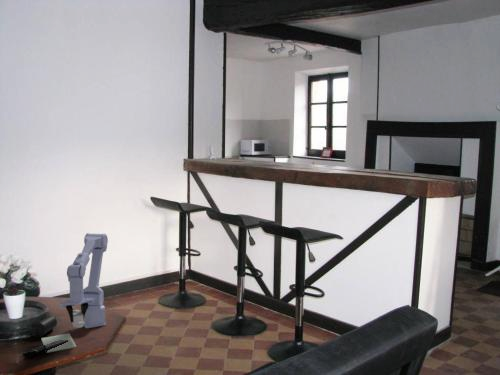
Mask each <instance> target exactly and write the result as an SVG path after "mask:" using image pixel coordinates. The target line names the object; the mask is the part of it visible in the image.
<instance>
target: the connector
mask: <svg viewBox="0 0 500 375" xmlns="http://www.w3.org/2000/svg"><path fill="white" fill-rule="evenodd" d="M70 322H71V321H70ZM84 322H85V321H84V320H83V314H82V312H81V309H73V322H71V324H72V326H73V328H75V329H81V328H83V327H85V326H84Z"/></svg>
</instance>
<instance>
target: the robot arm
mask: <svg viewBox="0 0 500 375" xmlns="http://www.w3.org/2000/svg"><path fill="white" fill-rule="evenodd" d="M108 238H109V237H108V236H107V234H106V233H89V232H88V233H86V234H85V235H84V239H83V241H84V242H83V243H84V246H83V248H82V251H81V252H79V253H77V255H76V257H75V258H74V261H73V262H72V264H70V265H68V267H67V270H66V276H67V279H68V282H69V300H64V301H62V302H58V307H59V308H60V309H63V308H65V309H66V312H67V313H68V316H69V319H70V322H73V310H74V307H73V306H79V305H80V311H81V312H82V314H83V322H84V326H83V327H84V328H85V329H90V328H91V329H92V328H97V327H102V326H103V327H104V326H106V324H107V323H106V307H105V305H104V300H105V298H104V290H103V289H102V288H101V287H100V279H101V273H102V272H101V270H102V264H103V257H104V253H105V252H106V251H107V249H108V242H109V240H108ZM91 254H92V255H91ZM90 255H91V264H90V270H89V277H88V283H87V286H86V287H84V276H86V270H87V265H88V263H89V262H90Z"/></svg>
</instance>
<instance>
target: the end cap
mask: <svg viewBox="0 0 500 375" xmlns="http://www.w3.org/2000/svg"><path fill="white" fill-rule="evenodd" d="M57 324H58V320H57V318H56V317H55V316H53V315H49V316H41V317H39V318H38V320H34V321H32V322H31V328H36V329H31V334H32V337H37V338H43V336H44V335H46V334H48V333H49V332H50V331H52V330H53V329H54V328H56V326H57ZM34 333H35V334H34Z"/></svg>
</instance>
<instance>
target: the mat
mask: <svg viewBox="0 0 500 375" xmlns="http://www.w3.org/2000/svg"><path fill="white" fill-rule="evenodd" d="M40 338H41V342H42V344H43V346H44V345H47V344H50V343H52V342H55V341H59V340H68V342H66V343H64V344H62V345H59V346H57V347H55V348H52V349H50V350H48V351H47V352H46V353H52V352H58V351H64V350H69V349H75V348H77V345H76V343H75V341H74V339H73V337H72V336H71V334H70V333H65V334H64V333H63V334H62V333H61V334H57V335H52V336H48V337H47V336H46V337H40Z"/></svg>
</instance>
